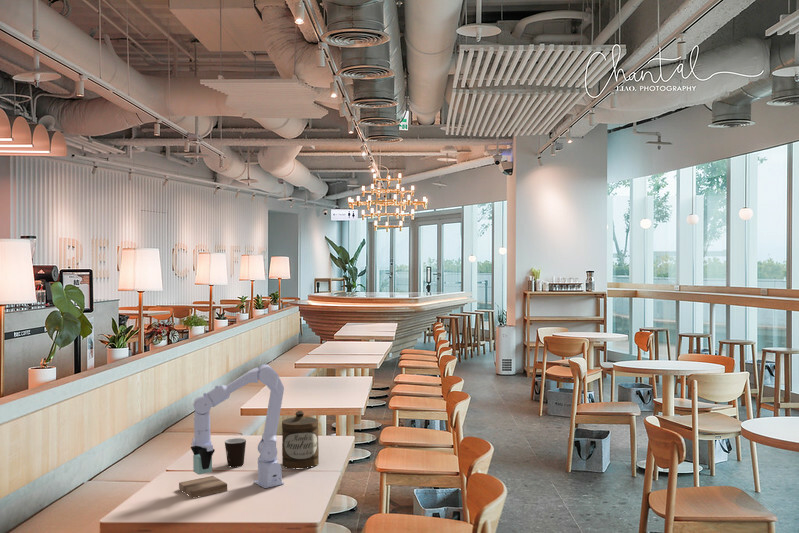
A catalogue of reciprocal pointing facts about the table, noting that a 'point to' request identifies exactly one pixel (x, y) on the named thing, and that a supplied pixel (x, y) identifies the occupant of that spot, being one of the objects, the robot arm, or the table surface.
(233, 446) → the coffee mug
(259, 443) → the robot arm
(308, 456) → the wooden container
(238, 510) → the table surface
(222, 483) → the walnut plinth
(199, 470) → the teal block
